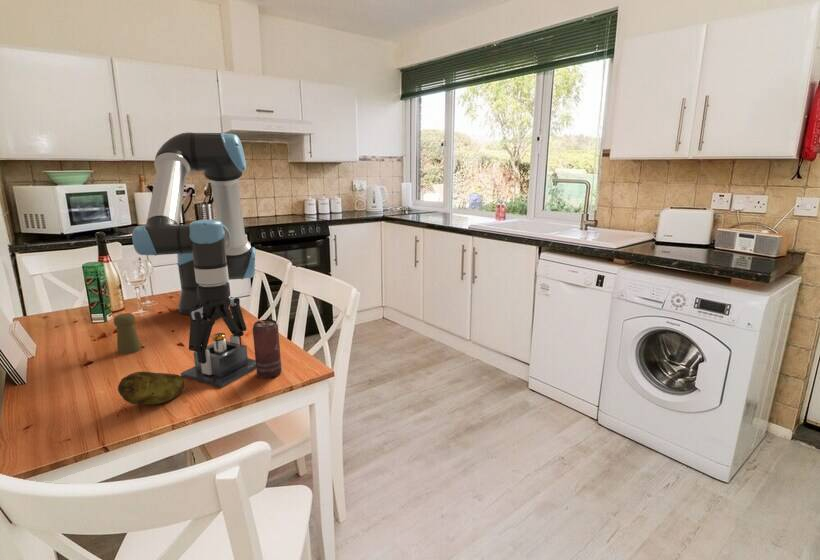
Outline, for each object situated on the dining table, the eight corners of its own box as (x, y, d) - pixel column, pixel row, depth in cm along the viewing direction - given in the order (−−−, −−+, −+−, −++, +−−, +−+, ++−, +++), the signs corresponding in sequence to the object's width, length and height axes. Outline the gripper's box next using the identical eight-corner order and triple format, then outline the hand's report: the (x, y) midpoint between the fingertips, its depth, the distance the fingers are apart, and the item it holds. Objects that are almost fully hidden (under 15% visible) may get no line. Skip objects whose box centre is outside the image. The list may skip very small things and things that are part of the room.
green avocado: (188, 402, 101) (184, 370, 99) (122, 418, 94) (115, 384, 92) (184, 387, 107) (180, 356, 105) (122, 401, 101) (116, 369, 99)
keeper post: (224, 355, 125) (220, 322, 122) (262, 365, 119) (259, 330, 117) (181, 376, 113) (175, 340, 110) (221, 388, 107) (216, 349, 104)
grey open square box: (223, 356, 122) (221, 340, 120) (248, 363, 118) (246, 345, 117) (195, 370, 114) (193, 352, 112) (221, 377, 110) (219, 358, 109)
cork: (130, 355, 125) (123, 318, 122) (112, 353, 126) (105, 317, 124) (146, 346, 131) (140, 311, 128) (129, 345, 132) (123, 310, 129)
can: (268, 366, 119) (264, 317, 115) (286, 371, 116) (282, 321, 112) (251, 375, 113) (246, 324, 110) (269, 381, 111) (265, 328, 107)
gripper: (235, 271, 121) (243, 348, 127) (162, 292, 102) (175, 380, 108) (256, 274, 118) (263, 352, 124) (185, 296, 99) (197, 387, 105)
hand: (222, 365), depth 116 cm, fingers closed on grey open square box, 9 cm apart
